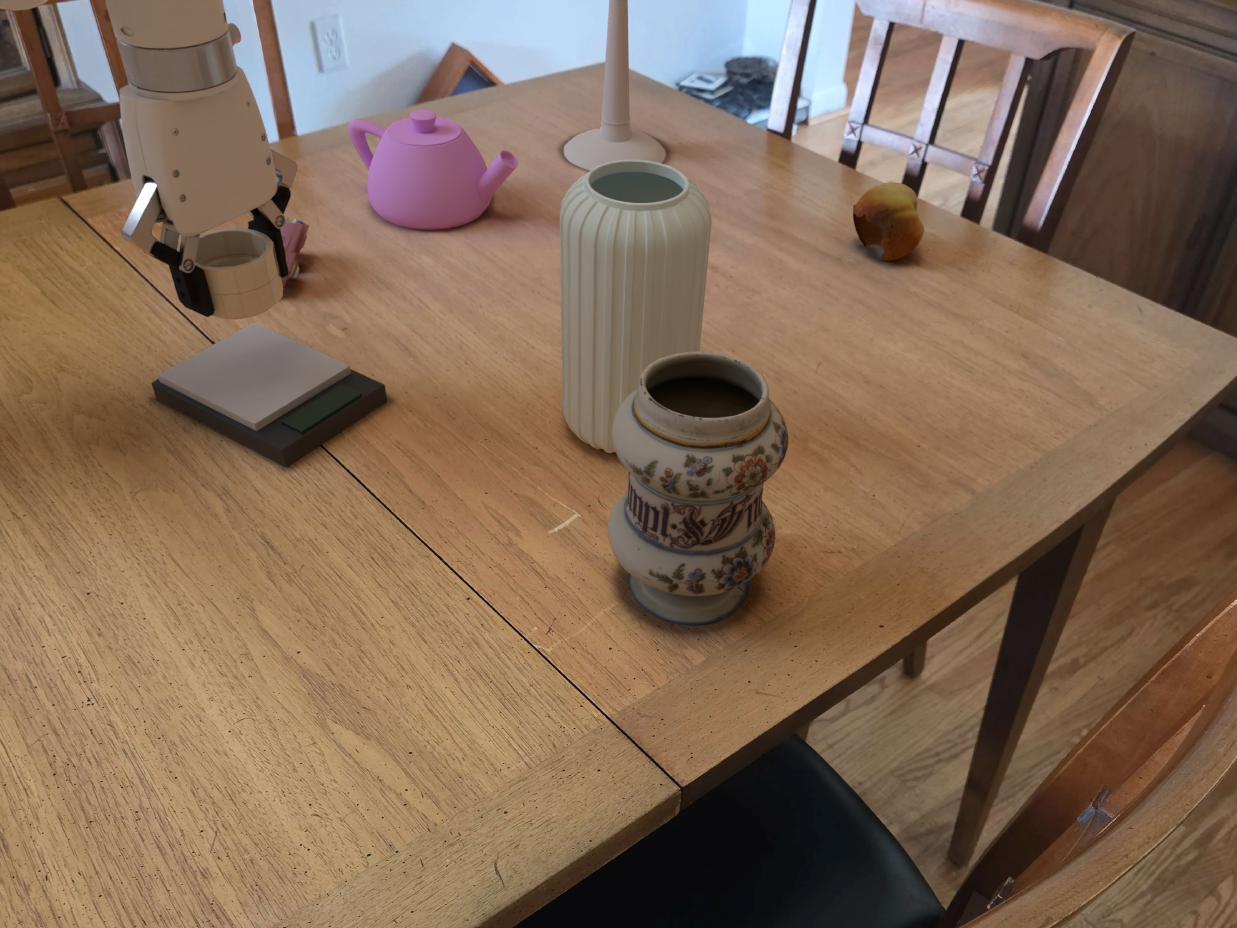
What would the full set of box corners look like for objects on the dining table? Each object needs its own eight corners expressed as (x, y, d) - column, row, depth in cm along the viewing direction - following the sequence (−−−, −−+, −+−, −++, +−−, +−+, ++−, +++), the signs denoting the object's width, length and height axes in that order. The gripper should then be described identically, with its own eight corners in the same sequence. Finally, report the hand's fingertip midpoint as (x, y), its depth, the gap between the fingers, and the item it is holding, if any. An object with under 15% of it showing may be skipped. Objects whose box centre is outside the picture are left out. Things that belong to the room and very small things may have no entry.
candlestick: (557, 138, 140) (553, -145, 119) (655, 134, 142) (669, -144, 121) (571, 181, 132) (570, -116, 110) (675, 177, 134) (694, -115, 112)
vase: (716, 448, 96) (744, 198, 80) (600, 485, 91) (605, 229, 75) (650, 381, 102) (664, 139, 86) (539, 413, 98) (532, 164, 82)
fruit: (897, 282, 118) (914, 209, 112) (830, 257, 121) (843, 185, 115) (929, 256, 122) (947, 185, 116) (864, 233, 125) (878, 163, 120)
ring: (176, 305, 90) (160, 252, 87) (243, 271, 94) (230, 219, 91) (236, 332, 87) (222, 279, 84) (302, 297, 92) (291, 244, 88)
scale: (158, 406, 97) (148, 374, 94) (262, 348, 104) (255, 317, 101) (287, 473, 91) (280, 441, 88) (388, 407, 98) (383, 376, 96)
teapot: (495, 254, 118) (489, 154, 111) (329, 220, 122) (313, 122, 114) (543, 202, 127) (541, 106, 120) (388, 172, 131) (376, 78, 124)
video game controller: (281, 319, 110) (301, 262, 106) (235, 299, 109) (254, 240, 104) (301, 271, 117) (321, 216, 113) (258, 252, 115) (277, 194, 111)
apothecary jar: (713, 519, 89) (736, 319, 76) (796, 613, 82) (837, 410, 69) (579, 563, 85) (579, 358, 72) (654, 666, 77) (669, 460, 64)
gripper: (237, 17, 84) (283, 238, 97) (37, 82, 74) (118, 320, 86) (308, 39, 81) (346, 264, 94) (110, 109, 71) (183, 351, 84)
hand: (236, 289), depth 90 cm, fingers closed on ring, 7 cm apart
